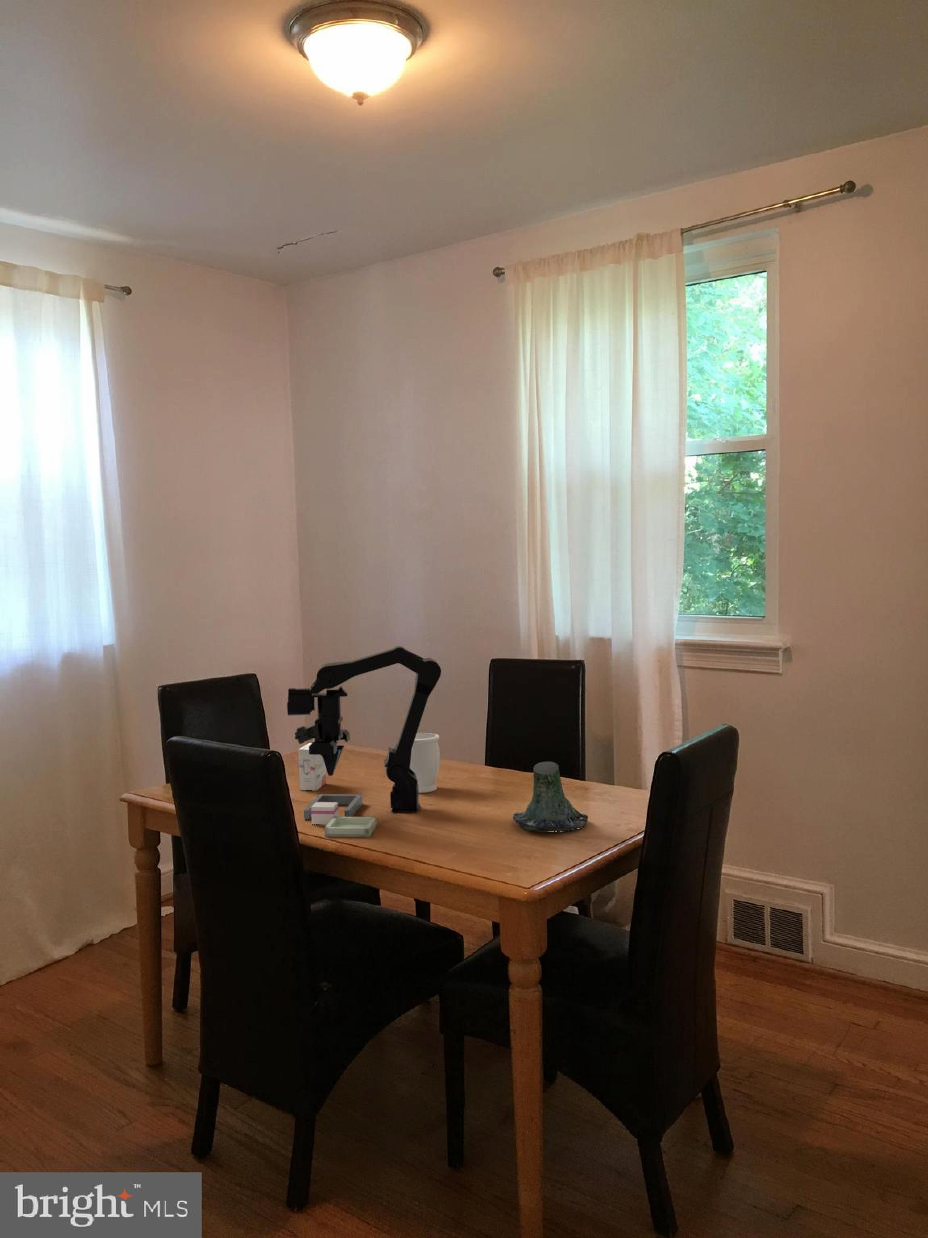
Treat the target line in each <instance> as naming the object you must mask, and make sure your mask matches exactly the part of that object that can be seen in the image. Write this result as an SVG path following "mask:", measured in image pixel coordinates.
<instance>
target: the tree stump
mask: <svg viewBox="0 0 928 1238" xmlns="http://www.w3.org/2000/svg"><path fill="white" fill-rule="evenodd" d="M559 767H560V766H559V765H558V763H556V762H554V761H542V762H538V763H536V764H535V765H534V766H533V768H532V769H533V771H532V772H533V773H532V775H533V779H532V780H533V786H532V787H533V788H532V798H531V801H530V802H529V803H528V805H527V806H526V809H525V811H524V812H514V813H513V815H512V819H513V820H514V822H515V823H516V824H518V825H519V826H520V828H523V829H524V828H525V829H524V830H526V831H528V832H535V831H554V832H555V831H557V832H560V831H567V832H569V831H568V830H572V829H577V828H581V827H583V826H584V827H585V826H586V824H587V822H588V819H589V815H588V814H584V813H581V812H580V811H578V810H577V809H576V808H575V807H574V805H572V804H571V801H570V800H569V799H568V798H567V797H566V796H565V793H564V790H563V788H564V787H563V785H562V784H563V783H562V780H561V779H562V778H561V774H560V768H559ZM584 827H583V828H584ZM581 829H582V828H581ZM577 830H578V829H577ZM572 831H573V830H572Z"/></svg>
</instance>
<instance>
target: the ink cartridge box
mask: <svg viewBox="0 0 928 1238" xmlns="http://www.w3.org/2000/svg"><path fill="white" fill-rule="evenodd" d="M314 741H315V738H313V739H312V742H309V743H307V744H305V745H304V746H301V748H298V750H297V751H298V768H299V785H300V786H299V788H300V789H299V790H300V791H306V790H312V791H313V792H315V791H318V790H319V789H321V788H322V787H323V786H324V785H326V783H327V779H326V778H327V770H326V766H325V763H324V760H323V757H322V756H321V755H310V754H309V746H310V745H311V744H312V743H313V742H314ZM312 791H311V792H312Z"/></svg>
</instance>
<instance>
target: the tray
mask: <svg viewBox="0 0 928 1238" xmlns="http://www.w3.org/2000/svg"><path fill="white" fill-rule="evenodd" d="M377 825H378V819H377V816H353V817H345V816H338V817H333V818H332V820H331V821H330V822H329V823H328V824H327V825H325V827H324V831H323V832H324V833H323V834H324V837H325V838H326V837H330V838H332V837H333V838H336V837H337V838H338V837H339V838H341V837H342V838H370V836H371V835H372V833H373V832H374V830H375V829H376V828H377Z"/></svg>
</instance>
